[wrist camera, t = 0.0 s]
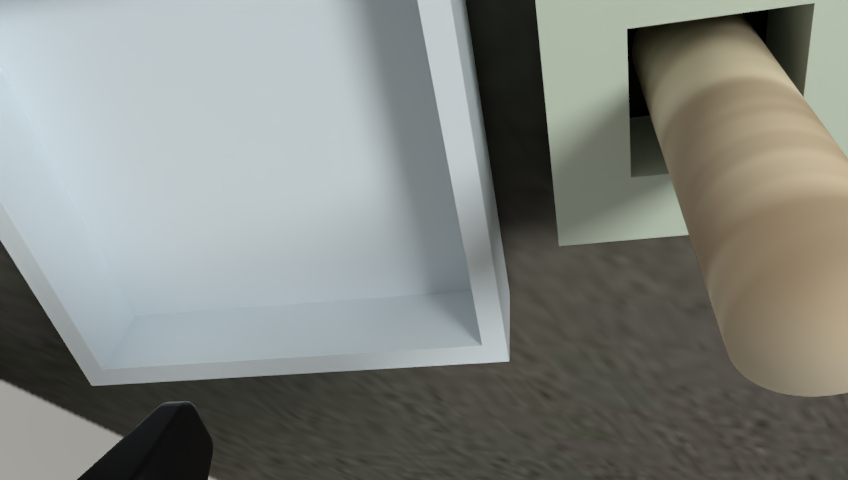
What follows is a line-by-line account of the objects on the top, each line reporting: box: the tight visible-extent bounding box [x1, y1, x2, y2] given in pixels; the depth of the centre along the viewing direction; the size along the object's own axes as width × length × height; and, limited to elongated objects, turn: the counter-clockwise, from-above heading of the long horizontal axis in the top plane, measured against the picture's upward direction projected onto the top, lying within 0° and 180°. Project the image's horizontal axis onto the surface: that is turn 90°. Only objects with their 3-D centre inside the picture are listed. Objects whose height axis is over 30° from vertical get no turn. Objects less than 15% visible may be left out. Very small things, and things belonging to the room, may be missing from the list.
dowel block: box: [535, 0, 848, 246], centre depth 20 cm, size 8×8×4 cm
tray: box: [0, 0, 510, 386], centre depth 23 cm, size 16×16×4 cm
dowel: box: [632, 13, 848, 396], centre depth 17 cm, size 3×3×12 cm
